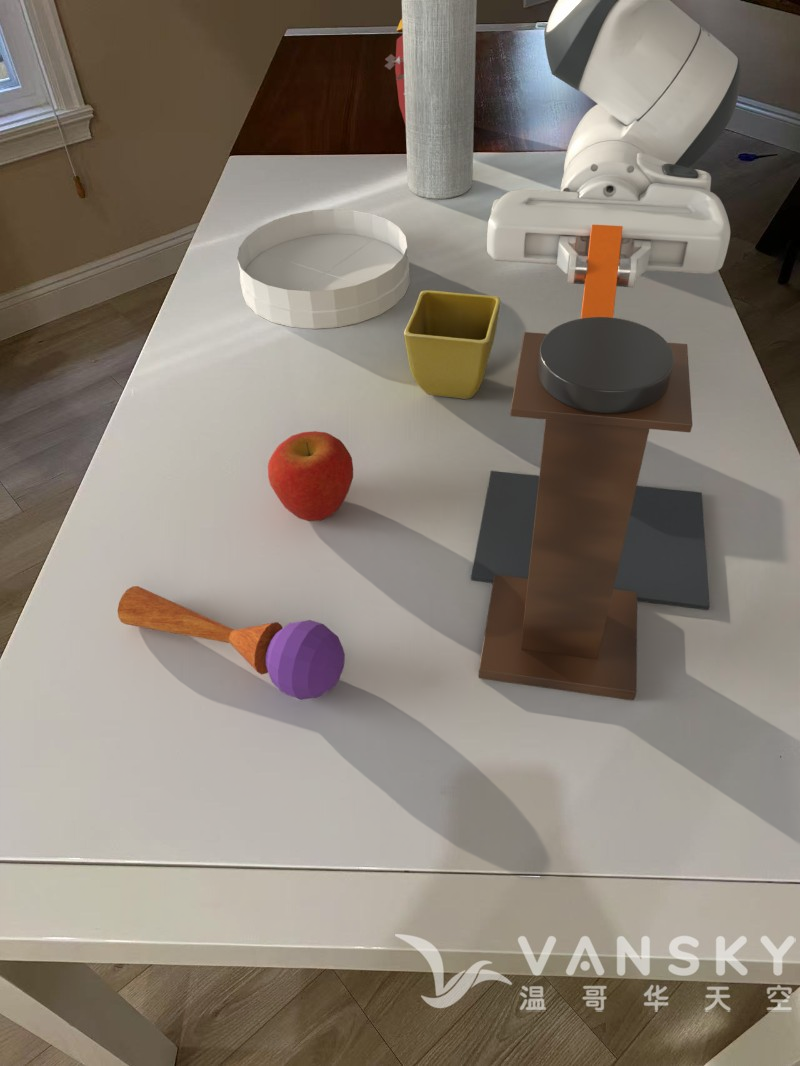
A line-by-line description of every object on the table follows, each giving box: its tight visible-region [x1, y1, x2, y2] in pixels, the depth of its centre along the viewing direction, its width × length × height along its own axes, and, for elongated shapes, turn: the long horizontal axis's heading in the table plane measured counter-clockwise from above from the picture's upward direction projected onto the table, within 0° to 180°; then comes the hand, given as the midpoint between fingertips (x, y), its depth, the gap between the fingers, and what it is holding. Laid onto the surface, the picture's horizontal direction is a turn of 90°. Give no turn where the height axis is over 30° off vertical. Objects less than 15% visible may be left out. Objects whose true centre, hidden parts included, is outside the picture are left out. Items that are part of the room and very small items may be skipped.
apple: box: [267, 430, 354, 522], centre depth 77 cm, size 8×8×8 cm
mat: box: [470, 470, 711, 611], centre depth 75 cm, size 20×14×1 cm
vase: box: [401, 0, 478, 200], centre depth 118 cm, size 10×10×27 cm
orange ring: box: [580, 225, 623, 319], centre depth 66 cm, size 8×18×2 cm, turn 168°
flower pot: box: [403, 290, 502, 400], centre depth 89 cm, size 9×9×9 cm
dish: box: [236, 208, 411, 330], centre depth 107 cm, size 22×22×5 cm
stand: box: [478, 317, 693, 701], centre depth 58 cm, size 12×10×28 cm
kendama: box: [117, 585, 346, 700], centre depth 66 cm, size 6×6×20 cm
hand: (601, 277), depth 67 cm, fingers closed on orange ring, 2 cm apart
